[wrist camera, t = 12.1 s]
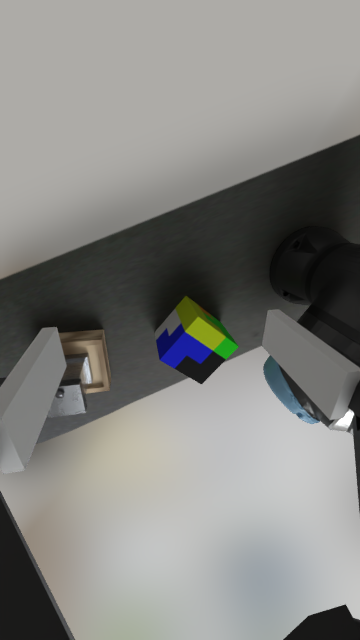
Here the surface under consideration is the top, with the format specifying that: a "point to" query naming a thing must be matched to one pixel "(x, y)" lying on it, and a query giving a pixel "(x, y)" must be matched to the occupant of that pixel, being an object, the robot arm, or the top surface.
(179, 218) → the top surface
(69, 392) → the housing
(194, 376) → the puzzle toy
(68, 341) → the tray
